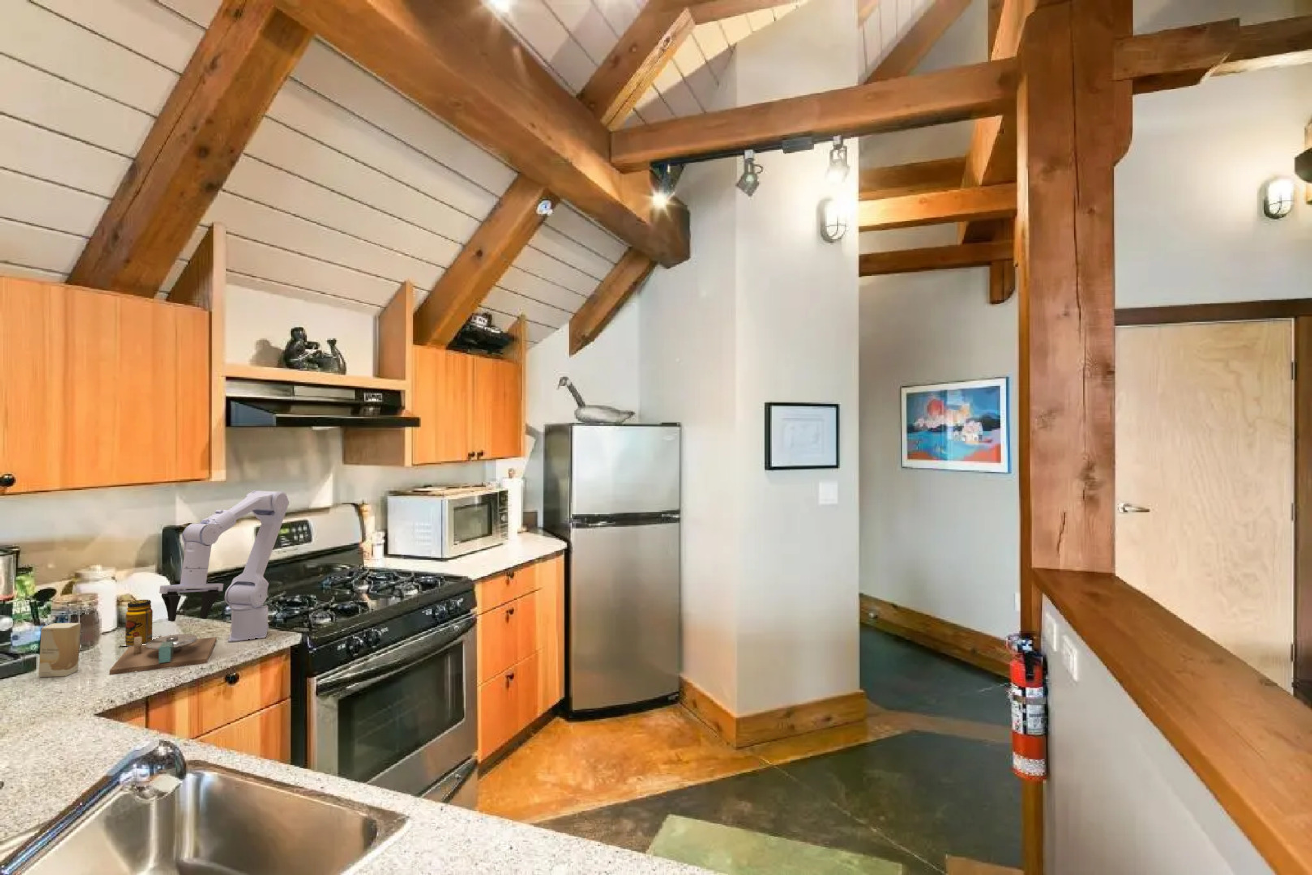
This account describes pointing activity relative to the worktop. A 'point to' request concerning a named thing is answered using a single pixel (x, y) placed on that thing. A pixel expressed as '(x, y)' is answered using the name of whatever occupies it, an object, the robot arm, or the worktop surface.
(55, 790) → the worktop surface
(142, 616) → the condiment
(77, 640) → the skincare box
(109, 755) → the worktop surface
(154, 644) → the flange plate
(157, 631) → the worktop surface
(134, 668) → the walnut base
